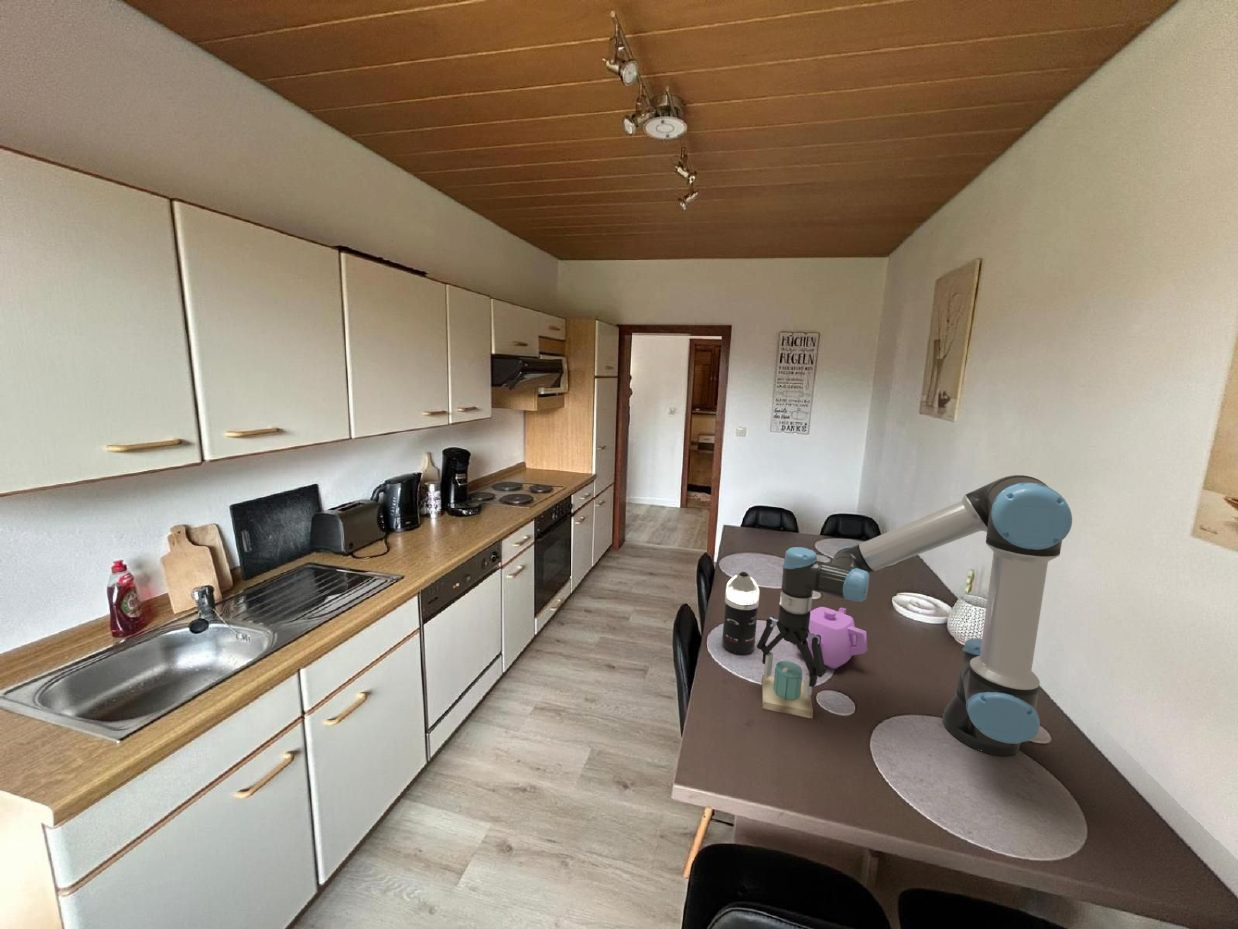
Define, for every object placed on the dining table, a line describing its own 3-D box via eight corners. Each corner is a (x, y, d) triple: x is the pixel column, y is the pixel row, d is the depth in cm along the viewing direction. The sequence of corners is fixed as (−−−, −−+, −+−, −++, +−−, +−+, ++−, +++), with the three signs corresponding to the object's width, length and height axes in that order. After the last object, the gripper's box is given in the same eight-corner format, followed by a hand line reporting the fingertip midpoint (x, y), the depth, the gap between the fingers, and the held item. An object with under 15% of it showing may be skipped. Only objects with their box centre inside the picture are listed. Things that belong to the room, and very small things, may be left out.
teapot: (840, 640, 159) (845, 597, 156) (871, 674, 141) (877, 626, 138) (783, 640, 158) (787, 597, 155) (806, 674, 140) (811, 626, 137)
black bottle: (760, 647, 153) (767, 572, 149) (744, 660, 146) (751, 582, 141) (731, 634, 160) (737, 563, 156) (715, 646, 153) (720, 571, 148)
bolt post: (807, 689, 133) (810, 664, 132) (812, 718, 122) (815, 691, 120) (761, 681, 136) (764, 656, 135) (762, 708, 125) (765, 682, 123)
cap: (781, 681, 133) (783, 656, 132) (803, 692, 128) (806, 666, 127) (769, 691, 129) (771, 665, 127) (792, 703, 124) (794, 676, 123)
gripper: (747, 596, 130) (741, 671, 134) (834, 630, 113) (824, 714, 117) (761, 588, 135) (755, 661, 139) (847, 619, 119) (837, 700, 123)
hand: (787, 685), depth 128 cm, fingers open, 10 cm apart
